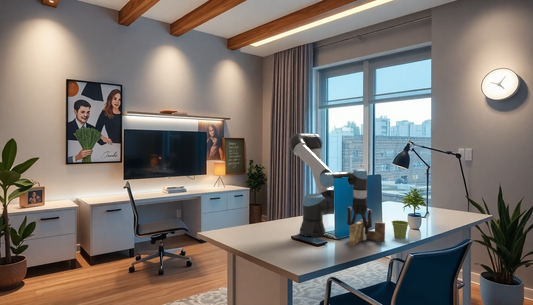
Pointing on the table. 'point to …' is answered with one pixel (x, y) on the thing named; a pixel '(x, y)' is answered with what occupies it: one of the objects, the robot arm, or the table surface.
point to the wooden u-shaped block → (376, 232)
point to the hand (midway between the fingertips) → (359, 238)
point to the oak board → (356, 233)
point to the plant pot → (400, 228)
